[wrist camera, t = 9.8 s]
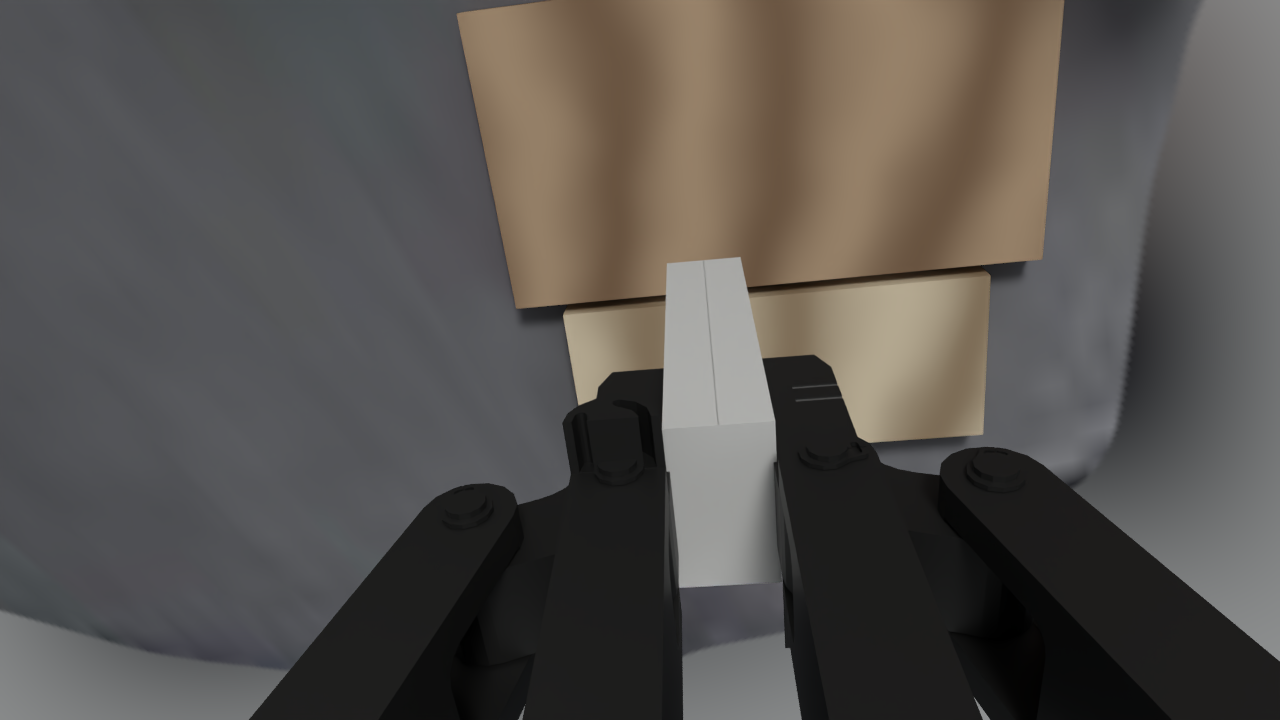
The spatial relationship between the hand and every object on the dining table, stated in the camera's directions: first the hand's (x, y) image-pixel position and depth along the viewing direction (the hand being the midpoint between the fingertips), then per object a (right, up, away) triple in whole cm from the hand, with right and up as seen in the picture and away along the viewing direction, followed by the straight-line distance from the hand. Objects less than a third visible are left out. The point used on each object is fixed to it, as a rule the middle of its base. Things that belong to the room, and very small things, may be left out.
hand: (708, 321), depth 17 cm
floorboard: (+3, +8, +16) cm, 19 cm away
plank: (+5, -1, +21) cm, 21 cm away
